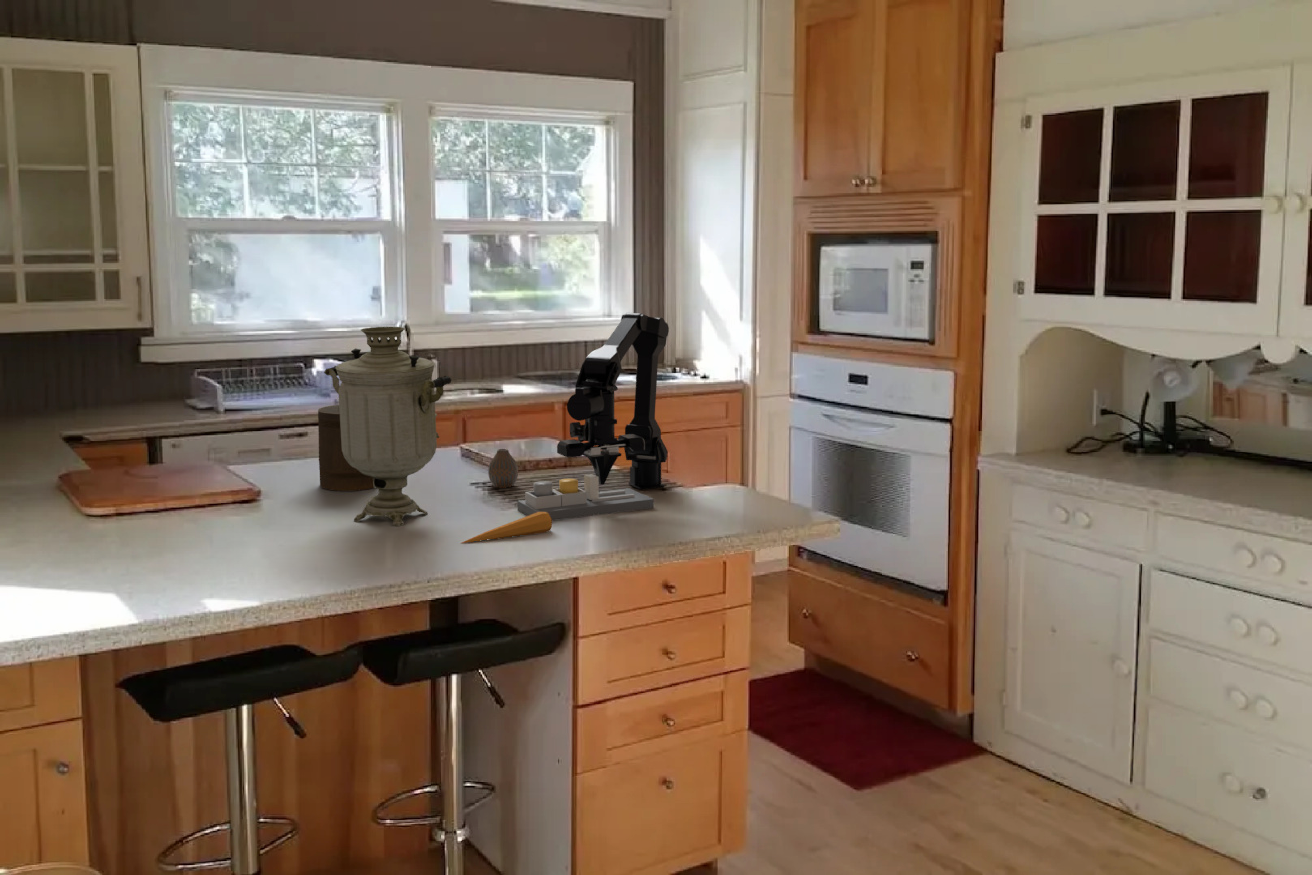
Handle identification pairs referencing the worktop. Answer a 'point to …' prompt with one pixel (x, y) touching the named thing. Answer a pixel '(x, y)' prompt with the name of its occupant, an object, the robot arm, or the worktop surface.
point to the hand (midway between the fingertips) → (601, 484)
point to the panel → (584, 503)
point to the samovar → (387, 418)
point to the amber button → (568, 486)
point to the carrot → (518, 527)
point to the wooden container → (336, 456)
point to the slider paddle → (591, 486)
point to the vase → (503, 469)
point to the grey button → (542, 488)
